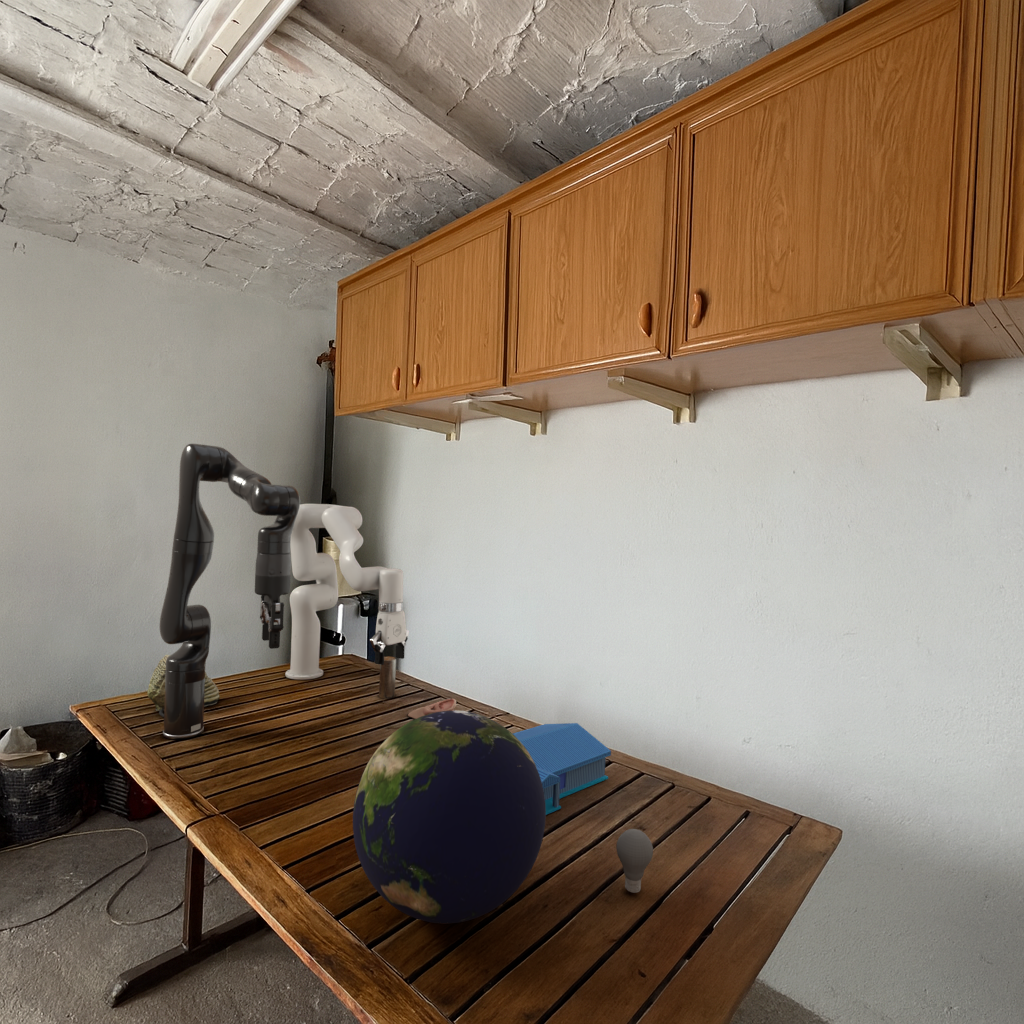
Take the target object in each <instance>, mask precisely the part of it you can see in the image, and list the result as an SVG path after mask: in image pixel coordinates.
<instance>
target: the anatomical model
mask: <svg viewBox="0 0 1024 1024" xmlns="http://www.w3.org/2000/svg"><path fill="white" fill-rule="evenodd" d="M456 706H457V700H456V698H448V699H444V700H440V701H437V702H433V703H430V704H428V705H425V706H422V707H419V708H418V707H417V708H415V709H413V710H412V711H410V712H408V714H407V716H408V717H409V718H412V719H417V718H419V717H421V716H424V715H428V714H431V713H435V712H441V711H455V708H456Z"/></svg>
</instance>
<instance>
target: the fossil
mask: <svg viewBox="0 0 1024 1024" xmlns="http://www.w3.org/2000/svg"><path fill="white" fill-rule="evenodd" d="M170 655H171V654H165V655H164V656H163V657H162V658H161V659H160V660H159V662H158V663H157V666H156V667H155V669H154V670H153V672H152V675H151V677H150V680H149V684H148V688H147V697H148V699H149V700H150V701H152V703H153V704H154V706H155V711H158V712H159V711H160V710H161V709H163V708H164V705H165V674H166V660H167V658H168V657H169V656H170ZM220 698H221V696H220V690H219V688H218V686H217V685H216V683H215V682H214V681H213V679H212V678H211V677H209V675H208V674H207V672H206V671H205V693H204V707H207V706H213V705H215V704H217V703H218V701H219V699H220Z"/></svg>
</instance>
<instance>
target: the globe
mask: <svg viewBox="0 0 1024 1024" xmlns="http://www.w3.org/2000/svg"><path fill="white" fill-rule="evenodd" d="M546 816H547V815H546V806H545V796H544V791H543V786H542V782H541V779H540V775H539V773H538V770H537V768H536V765H535V763H534V761H533V759H532V757H531V756H530V754H529V752H528V751H527V749H526V748H525V747H524V746H523V744H522V743H521V742H520V741H519V740H518V739H517V738H516V737H515V736H514V735H513V732H511V730H509V729H507V728H506V727H505V726H503V725H502V724H500V723H498V722H497V721H495V720H493V719H492V718H489V717H487V716H485V715H481V714H479V713H476V712H471V711H467V710H458V709H457V710H454V711H441V712H435V713H431V714H428V715H424V716H421V717H419V718H417V719H415V718H413V720H410V721H409V722H407V723H405V724H404V725H402V726H400V727H399V728H398V729H397V730H395V731H394V732H392V734H390V735H389V736H388V737H386V739H385V740H384V741H383V742H382V743H381V744H380V745H379V746H378V747H377V749H376V750H375V752H374V753H373V755H372V756H371V757H370V759H369V761H368V762H367V764H366V766H365V768H364V771H363V772H362V775H361V777H360V780H359V783H358V786H357V789H356V793H355V797H354V803H353V808H352V831H353V841H354V845H355V846H354V847H355V851H356V855H357V856H358V860H359V863H360V866H361V868H362V870H363V872H364V874H365V876H366V877H367V878H368V881H369V882H370V884H371V885H372V887H373V888H374V889H375V890H376V891H377V893H378V895H380V896H381V897H382V898H383V899H384V900H385V901H386V902H387V903H388V904H389V905H391V906H392V907H394V908H395V909H396V910H398V911H399V912H401V913H403V914H404V915H407V916H409V917H411V918H414V919H416V920H419V921H423V922H427V923H432V924H441V925H443V924H447V925H448V924H458V923H463V922H468V921H471V920H474V919H478V918H480V917H482V916H484V915H487V914H489V913H490V912H492V911H494V910H495V909H497V908H498V907H500V906H501V905H503V904H504V903H505V902H506V901H507V900H508V899H509V898H511V897H512V896H513V895H514V894H515V892H516V891H517V890H519V888H520V887H521V886H522V884H523V883H524V882H525V880H526V879H527V877H528V876H529V874H530V872H531V870H532V869H533V867H534V865H535V863H536V860H537V858H538V856H539V853H540V850H541V847H542V844H543V839H544V834H545V830H546V829H545V828H546V818H547V817H546Z"/></svg>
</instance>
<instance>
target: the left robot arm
mask: <svg viewBox="0 0 1024 1024" xmlns="http://www.w3.org/2000/svg"><path fill="white" fill-rule="evenodd" d="M178 474H179V475H178V476H179V477H178V503H177V513H176V521H175V527H174V534H173V541H172V548H171V558H170V566H169V567H170V568H169V574H168V579H167V581H168V582H167V588H166V591H165V595H164V600H163V603H162V608H161V613H160V617H159V634H160V637H161V640H162V641H163V642H164V643H165V644H167V645H179V644H181V645H180V647H179V648H178V649H177V650H176V651H174V652H173V653H172V654H169V655H170V656H169V657H168V658H167V660H166V674H165V705H164V708H163V709H161V710H160V711H159V710H158V714H159V715H160V717H162V718H163V730H162V737H164V738H166V739H169V740H185V739H190V738H191V739H192V738H194V737H197V736H199V735H202V734H203V732H204V730H205V729H204V727H205V725H204V722H205V721H204V718H205V706H204V693H205V672H206V664H207V663H206V662H207V659H208V656H209V653H210V643H211V633H212V619H211V618H212V617H211V614H210V612H209V610H208V608H207V607H206V606H205V605H203V604H190V605H189V600H190V596H191V593H192V591H193V589H194V586H195V585H196V583H197V582H198V581H199V579H200V578H201V576H202V575H203V573H204V572H205V570H206V569H207V568H208V566H209V564H210V562H211V560H212V557H213V549H214V543H215V542H214V541H215V531H214V527H213V525H212V523H211V521H210V519H209V517H208V515H207V514H206V511H205V510H204V507H203V505H202V503H201V499H200V482H208V483H217V482H222V483H226V484H227V486H228V489H229V490H230V491H231V493H232V494H234V496H236V497H238V498H239V499H241V500H242V501H244V502H246V503H247V505H248V506H249V508H250V509H251V511H252V512H253V513H254V514H257V515H260V516H265V517H275V520H274V522H273V523H272V524H269V525H266V526H263V527H261V528H259V530H258V533H257V546H256V547H257V548H256V549H257V550H256V552H257V553H256V559H255V571H254V593H255V595H258V596H260V612H259V613H260V615H259V619H260V622H261V624H262V625H261V626H262V627H261V639H262V640H263V641H268V648H269V649H271V650H273V649H279V648H280V647H281V632H282V630H284V627H285V626H284V611H285V610H284V609H285V604H284V602H281V596H286V595H288V594H290V593H291V575H292V572H291V571H292V561H291V547H290V545H291V542H290V541H291V534H292V530H293V527H294V524H295V520H296V517H297V514H298V511H299V508H300V504H301V497H300V493H299V491H298V489H296V488H295V486H292V485H287V484H272V483H271V481H270V480H269V479H268V478H266V477H265V476H263V475H262V474H260V473H258V472H256V471H254V470H252V469H250V468H248V467H247V466H245V465H244V464H243V463H242V462H241V461H239V460H238V459H237V457H236V456H234V455H233V453H232V452H230V451H228V450H227V449H226V448H224V447H221V446H217V445H211V444H210V445H209V444H202V443H201V444H200V443H187V444H186V445H185V446H184V448H183V450H182V452H181V455H180V461H179V473H178ZM275 623H276V624H275Z"/></svg>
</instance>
